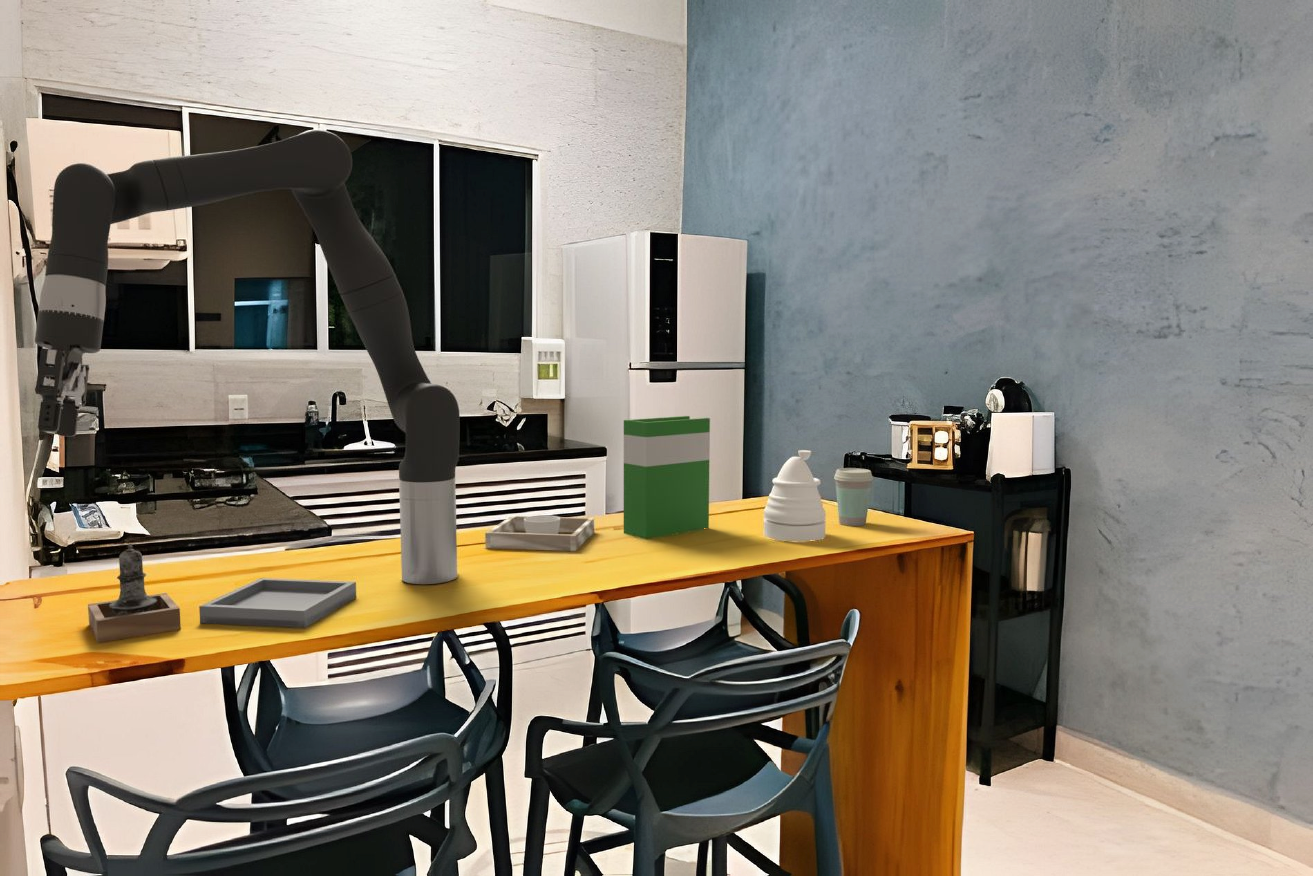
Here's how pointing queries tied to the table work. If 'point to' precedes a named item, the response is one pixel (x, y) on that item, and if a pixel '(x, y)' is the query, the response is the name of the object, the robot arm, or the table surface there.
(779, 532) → the honey pot
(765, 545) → the table surface
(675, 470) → the green cereal box
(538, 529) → the light grey bowl
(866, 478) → the coffee cup
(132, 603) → the grey stone finial
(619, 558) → the table surface
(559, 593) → the table surface
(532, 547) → the grey wooden tray
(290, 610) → the tray
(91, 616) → the collar
